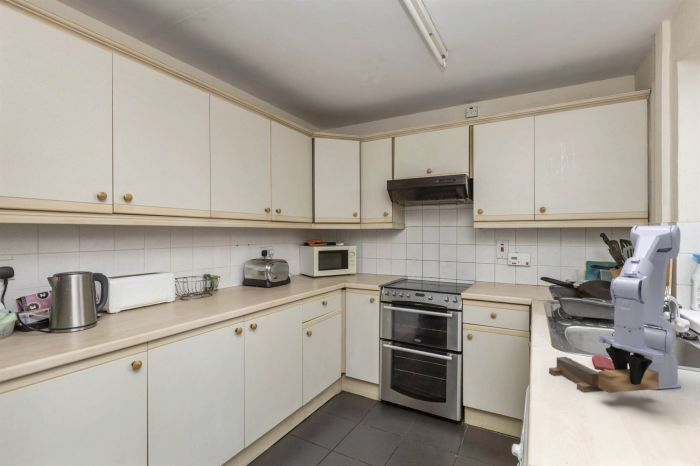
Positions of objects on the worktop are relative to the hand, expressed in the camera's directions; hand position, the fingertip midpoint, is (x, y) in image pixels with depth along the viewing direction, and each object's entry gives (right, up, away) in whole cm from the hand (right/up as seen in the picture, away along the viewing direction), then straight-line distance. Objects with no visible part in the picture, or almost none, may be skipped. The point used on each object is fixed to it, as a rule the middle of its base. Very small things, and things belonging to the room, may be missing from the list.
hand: (628, 380), depth 83 cm
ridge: (-5, -5, +11) cm, 13 cm away
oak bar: (0, -2, 0) cm, 2 cm away
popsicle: (+10, -6, +21) cm, 24 cm away
